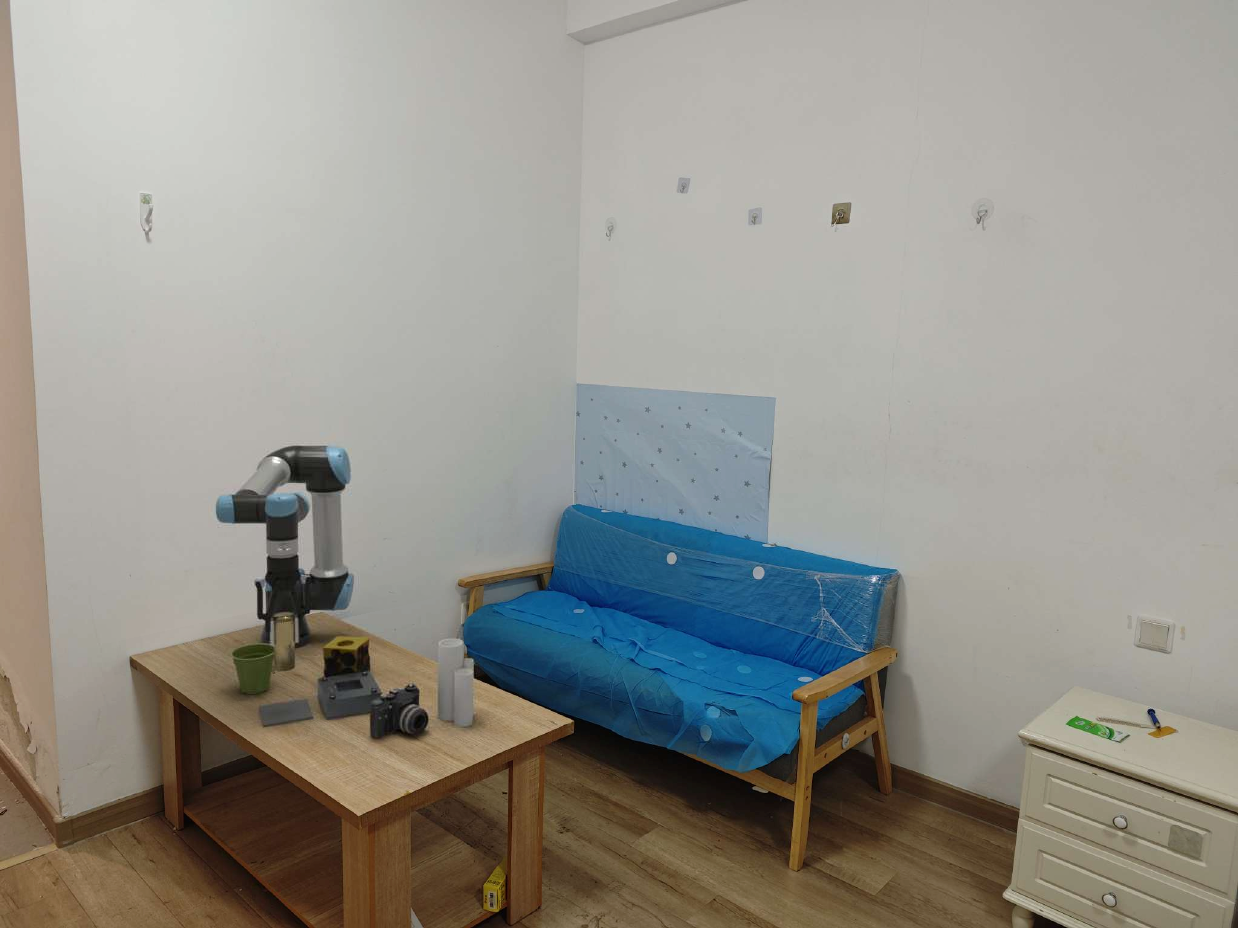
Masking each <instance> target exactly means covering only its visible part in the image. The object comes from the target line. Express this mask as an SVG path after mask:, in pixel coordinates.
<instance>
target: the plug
mask: <svg viewBox="0 0 1238 928" xmlns="http://www.w3.org/2000/svg"><path fill="white" fill-rule="evenodd" d="M294 618H295V615H294V613H290V612H283V613H277V614H275V615H274V616H273V620H274V660H273V663H274V665H273V666H274V671H277V672H288V671H291V670H293V669H295V668H296V647H295V625H294Z"/></svg>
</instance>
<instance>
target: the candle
mask: <svg viewBox="0 0 1238 928" xmlns="http://www.w3.org/2000/svg"><path fill="white" fill-rule="evenodd" d="M369 647H370V638H369V637H356V636H343V635H342V636H336V637H335V638H333V640H331V641H329V643H327V644H326V645H324V646H323V649H322V650H323V666H324V668H323V674H324V675H323V677H332V676H338V675H345V674H352V673H359V672H362V671H370V670H371V662H370V661H371V656H370V652H369V651H370V650H369Z"/></svg>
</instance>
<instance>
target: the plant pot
mask: <svg viewBox="0 0 1238 928" xmlns="http://www.w3.org/2000/svg"><path fill="white" fill-rule="evenodd" d="M229 655H230V657H231V659H232V661H233V665H234V666H235V669H236V675H237V679H238V682H239V688H240V691H241V693H242V694H243V693H245V694H247V695H255V694H256V695H257V694H261V693H264V692H265V691H267V690H269V688H270V683H271V677H272V676H271V675H272V669H273V663H274V646H271V644H265V643H261V642H259V643H250V644H244V645H241V646H238V647H236V648H234V649H233V650H232V651H230V654H229Z"/></svg>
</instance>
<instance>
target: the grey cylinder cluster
mask: <svg viewBox="0 0 1238 928" xmlns="http://www.w3.org/2000/svg"><path fill="white" fill-rule="evenodd" d="M464 642H465V641H464V640H463V639H459V638H445V639H442V640H440V641H438V644H437V647H438V649H437V651H438V652H437V653H438V654H437V655H438V656H437V661H438V662H437V664H438V665H437V718H438V719H439V720H441V721H444V722H452V721H453V724H454V725H455V726H457V727H462V728H464V727H465V728H466V727H470V726H471V725H473V722H474V719H473V717H474V679H475V678H474V677H475V676H474V669H475V668H474V665H475V664H474V663H475V661H474V659H473V658H471V657H469V658H468V657H467V658H466V657H465V658H464V655H465V654H464V651H465V649H464V648H465V647H464V646H465V645H464Z"/></svg>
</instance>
